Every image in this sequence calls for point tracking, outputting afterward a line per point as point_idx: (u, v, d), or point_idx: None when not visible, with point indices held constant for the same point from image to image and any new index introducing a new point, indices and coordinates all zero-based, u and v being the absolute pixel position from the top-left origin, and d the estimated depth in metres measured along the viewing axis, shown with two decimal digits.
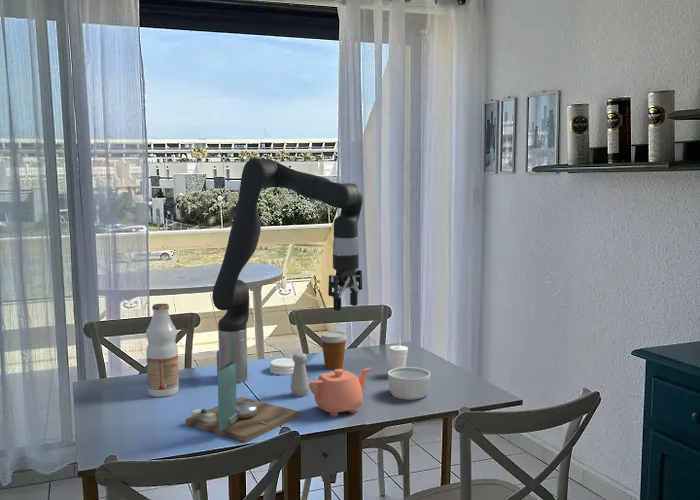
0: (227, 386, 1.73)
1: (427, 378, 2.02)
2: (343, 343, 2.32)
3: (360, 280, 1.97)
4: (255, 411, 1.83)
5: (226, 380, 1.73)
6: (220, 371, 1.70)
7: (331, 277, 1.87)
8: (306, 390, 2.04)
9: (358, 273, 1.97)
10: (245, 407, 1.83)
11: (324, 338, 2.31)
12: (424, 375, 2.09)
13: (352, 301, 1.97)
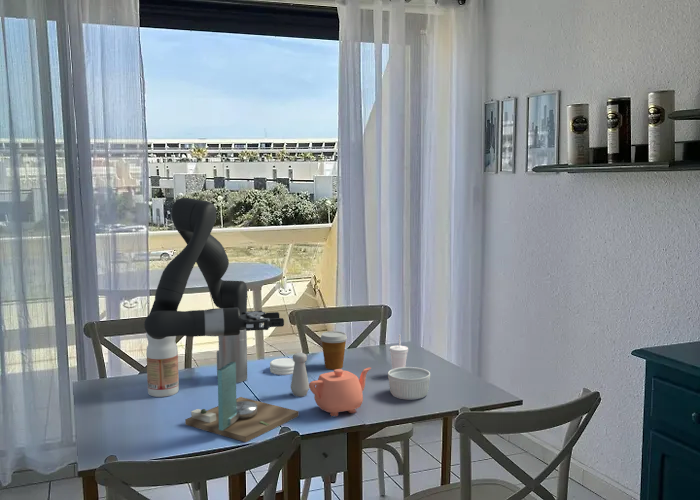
0: (227, 386, 1.73)
1: (427, 378, 2.02)
2: (343, 343, 2.32)
3: None
4: (255, 411, 1.83)
5: (226, 380, 1.73)
6: (220, 371, 1.70)
7: None
8: (306, 390, 2.04)
9: None
10: (245, 407, 1.83)
11: (324, 338, 2.31)
12: (424, 375, 2.09)
13: None
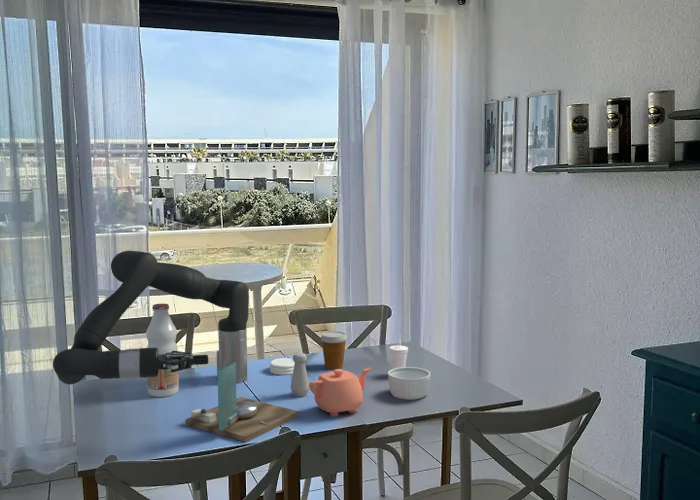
0: (227, 386, 1.73)
1: (427, 378, 2.02)
2: (343, 343, 2.32)
3: None
4: (255, 411, 1.83)
5: (226, 380, 1.73)
6: (220, 371, 1.70)
7: None
8: (306, 390, 2.04)
9: None
10: (245, 407, 1.83)
11: (324, 338, 2.31)
12: (424, 375, 2.09)
13: None
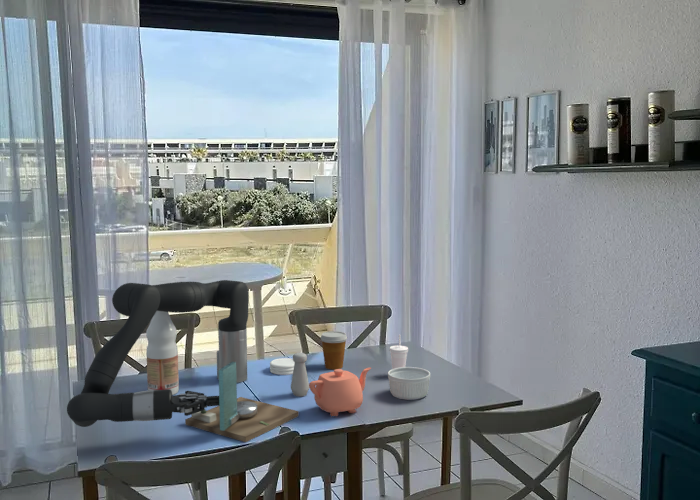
0: (228, 386, 1.73)
1: (427, 378, 2.02)
2: (343, 343, 2.32)
3: None
4: (255, 411, 1.83)
5: (227, 380, 1.73)
6: (221, 371, 1.70)
7: None
8: (306, 390, 2.04)
9: None
10: (245, 407, 1.83)
11: (324, 338, 2.31)
12: (424, 375, 2.09)
13: None
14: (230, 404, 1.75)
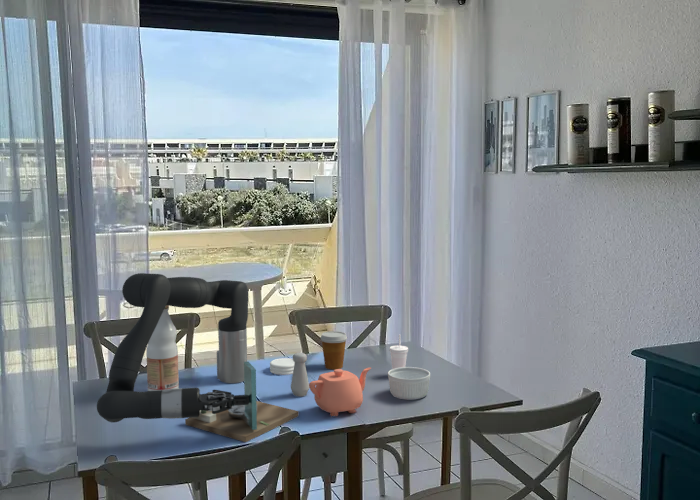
0: None
1: (427, 378, 2.02)
2: (343, 343, 2.32)
3: None
4: None
5: None
6: (254, 370, 1.71)
7: None
8: (306, 390, 2.04)
9: None
10: None
11: (324, 338, 2.31)
12: (424, 375, 2.09)
13: None
14: None
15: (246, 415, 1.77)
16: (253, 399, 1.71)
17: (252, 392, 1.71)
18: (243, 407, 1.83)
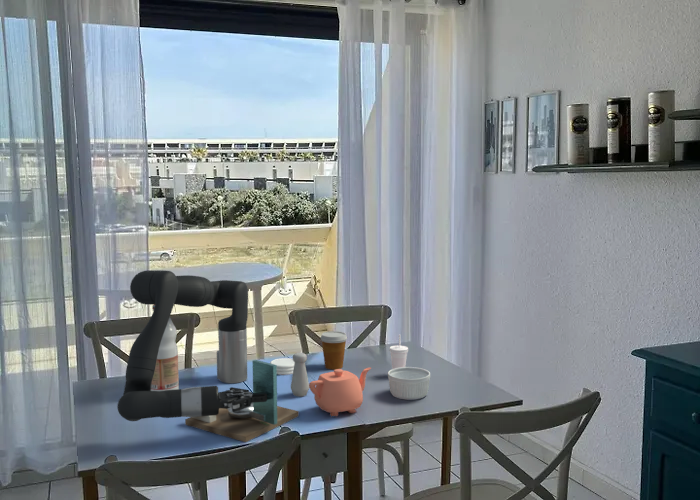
0: None
1: (427, 378, 2.02)
2: (343, 343, 2.32)
3: None
4: None
5: None
6: (275, 366, 1.74)
7: None
8: (306, 390, 2.04)
9: None
10: None
11: (324, 338, 2.31)
12: (424, 375, 2.09)
13: None
14: None
15: (258, 413, 1.79)
16: (274, 394, 1.75)
17: (274, 388, 1.75)
18: None
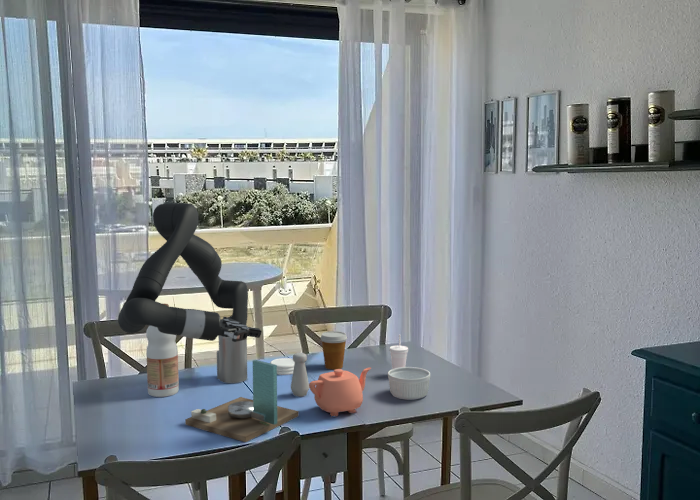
0: None
1: (427, 378, 2.02)
2: (343, 343, 2.32)
3: None
4: None
5: None
6: (275, 366, 1.74)
7: None
8: (306, 390, 2.04)
9: None
10: (246, 405, 1.85)
11: (324, 338, 2.31)
12: (424, 375, 2.09)
13: None
14: None
15: (258, 413, 1.79)
16: (275, 394, 1.75)
17: (274, 387, 1.75)
18: (245, 407, 1.83)
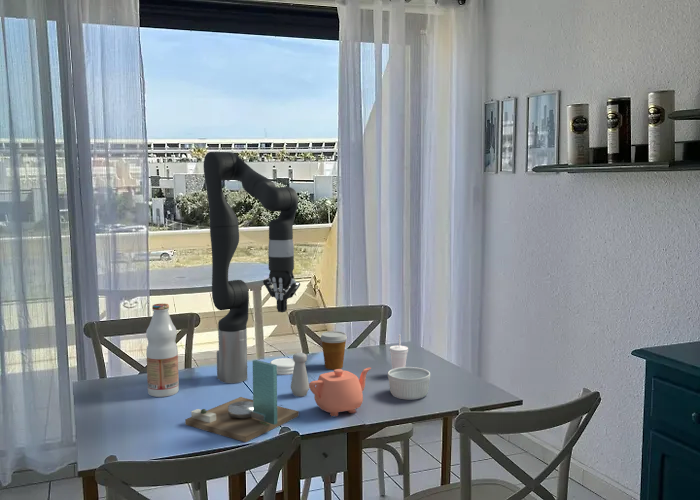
0: None
1: (427, 378, 2.02)
2: (343, 343, 2.32)
3: (289, 290, 1.95)
4: None
5: None
6: (275, 366, 1.74)
7: None
8: (306, 390, 2.04)
9: None
10: (246, 405, 1.85)
11: (324, 338, 2.31)
12: (424, 375, 2.09)
13: None
14: None
15: (258, 413, 1.79)
16: (275, 394, 1.75)
17: (274, 387, 1.75)
18: (245, 407, 1.83)
